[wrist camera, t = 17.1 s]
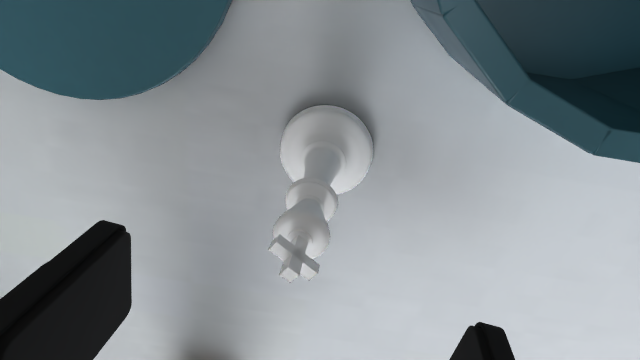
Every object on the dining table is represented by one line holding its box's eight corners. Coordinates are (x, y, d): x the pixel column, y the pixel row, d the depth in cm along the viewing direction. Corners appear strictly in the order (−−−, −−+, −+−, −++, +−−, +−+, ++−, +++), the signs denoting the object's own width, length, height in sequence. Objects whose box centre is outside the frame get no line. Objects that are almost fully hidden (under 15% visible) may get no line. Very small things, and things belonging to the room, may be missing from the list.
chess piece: (322, 84, 19) (275, 169, 10) (393, 149, 20) (408, 278, 11) (262, 151, 21) (179, 272, 12) (330, 207, 22) (300, 356, 13)
